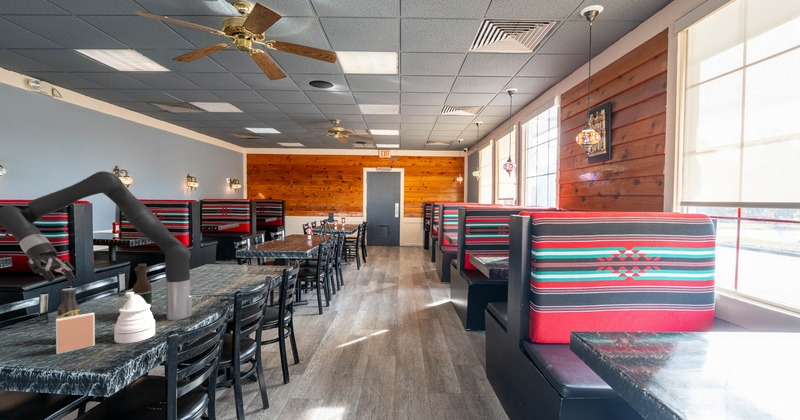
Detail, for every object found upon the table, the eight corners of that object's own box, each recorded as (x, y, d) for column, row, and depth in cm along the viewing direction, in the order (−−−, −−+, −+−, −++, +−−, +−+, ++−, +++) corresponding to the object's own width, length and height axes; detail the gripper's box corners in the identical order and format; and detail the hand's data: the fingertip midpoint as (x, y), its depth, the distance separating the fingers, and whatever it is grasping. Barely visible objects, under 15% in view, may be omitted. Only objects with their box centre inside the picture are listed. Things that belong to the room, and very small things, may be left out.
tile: (94, 344, 129) (93, 312, 128) (94, 345, 127) (94, 313, 127) (56, 352, 121) (55, 319, 121) (56, 354, 120) (56, 320, 120)
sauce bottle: (64, 345, 127) (64, 291, 127) (51, 343, 129) (50, 290, 128) (84, 338, 134) (83, 287, 134) (71, 337, 135) (70, 286, 135)
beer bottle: (155, 313, 164) (155, 263, 164) (136, 318, 157) (135, 266, 157) (148, 310, 168) (147, 262, 168) (129, 315, 162) (128, 264, 161)
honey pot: (130, 345, 128) (130, 297, 128) (106, 340, 132) (105, 294, 131) (163, 332, 140) (162, 289, 140) (140, 329, 144) (139, 286, 144)
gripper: (28, 240, 126) (54, 273, 125) (63, 243, 140) (87, 273, 139) (9, 254, 125) (35, 287, 123) (47, 256, 139) (70, 286, 137)
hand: (62, 280), depth 131 cm, fingers open, 8 cm apart
